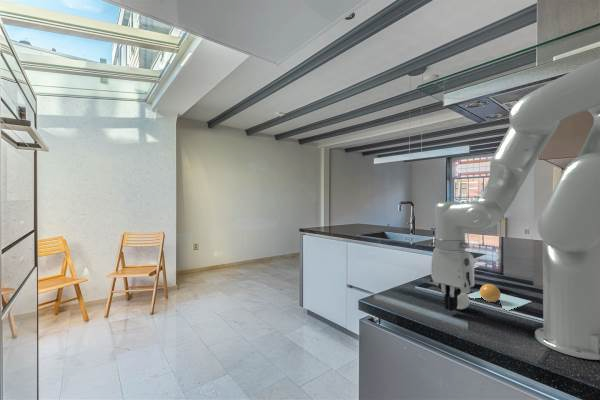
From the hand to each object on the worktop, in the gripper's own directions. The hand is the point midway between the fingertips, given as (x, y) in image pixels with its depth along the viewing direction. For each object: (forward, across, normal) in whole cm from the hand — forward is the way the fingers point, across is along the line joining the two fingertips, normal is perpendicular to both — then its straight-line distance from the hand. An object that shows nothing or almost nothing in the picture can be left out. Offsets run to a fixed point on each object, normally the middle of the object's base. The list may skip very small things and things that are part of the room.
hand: (450, 308), depth 82 cm
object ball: (-1, 0, -20) cm, 20 cm away
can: (+2, +14, -29) cm, 32 cm away
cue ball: (-1, +1, -6) cm, 6 cm away
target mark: (+2, 0, -23) cm, 23 cm away
